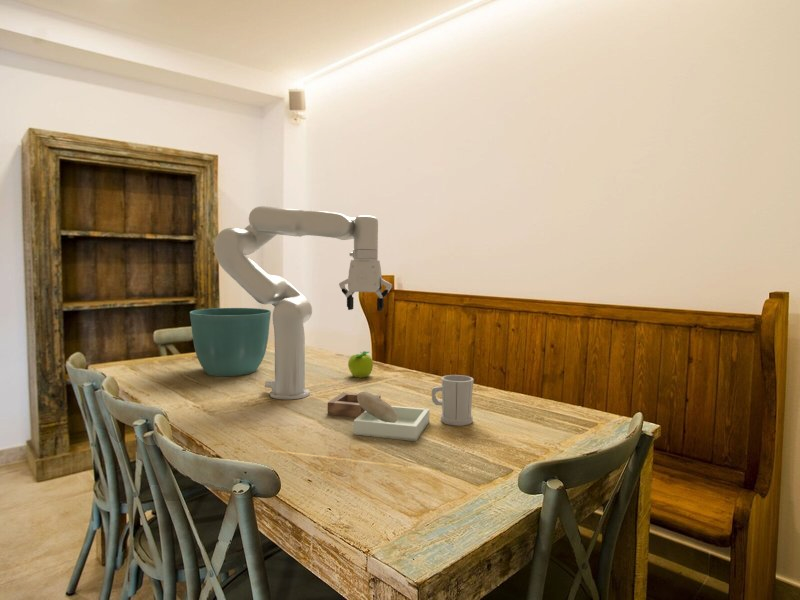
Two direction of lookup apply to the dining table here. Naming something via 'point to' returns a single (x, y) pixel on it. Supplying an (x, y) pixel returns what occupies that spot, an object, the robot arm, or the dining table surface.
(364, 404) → the stone
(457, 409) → the cup
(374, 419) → the tray
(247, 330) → the flower pot
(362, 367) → the fruit
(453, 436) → the dining table surface
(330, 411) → the pocket frame
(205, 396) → the dining table surface
